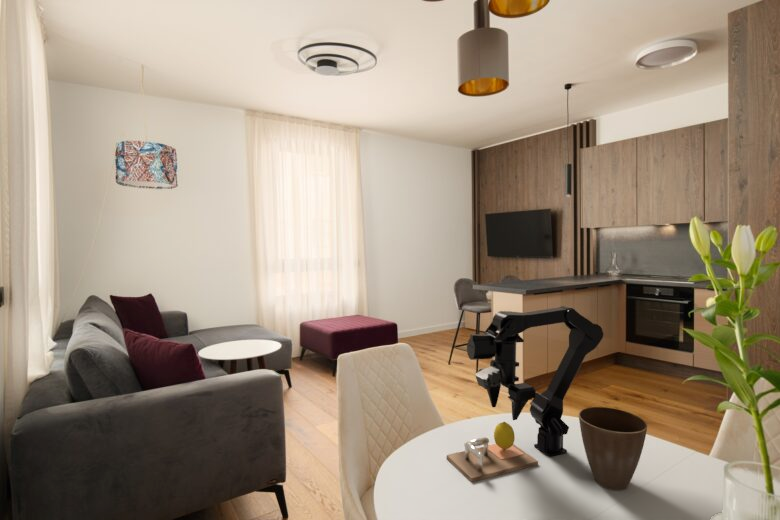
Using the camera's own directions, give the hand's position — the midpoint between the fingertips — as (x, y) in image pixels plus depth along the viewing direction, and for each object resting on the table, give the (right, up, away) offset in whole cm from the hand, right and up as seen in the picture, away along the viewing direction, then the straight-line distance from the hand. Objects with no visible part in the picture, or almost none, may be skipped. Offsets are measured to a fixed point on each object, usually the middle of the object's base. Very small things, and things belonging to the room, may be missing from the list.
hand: (503, 413), depth 117 cm
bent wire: (-7, -12, -6) cm, 15 cm away
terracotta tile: (0, -12, +1) cm, 12 cm away
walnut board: (-4, -12, -3) cm, 13 cm away
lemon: (0, -11, +1) cm, 11 cm away
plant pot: (+23, -13, -13) cm, 29 cm away
